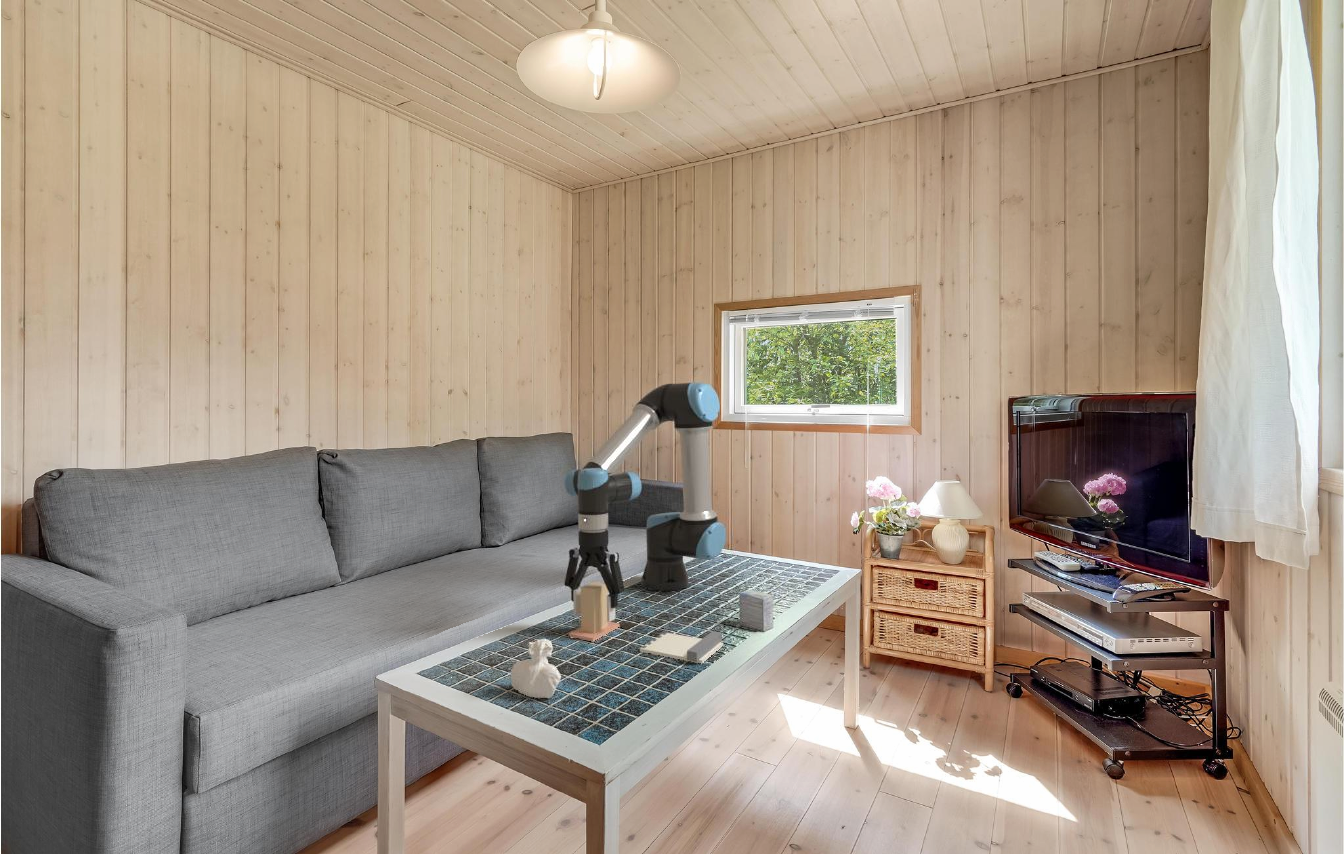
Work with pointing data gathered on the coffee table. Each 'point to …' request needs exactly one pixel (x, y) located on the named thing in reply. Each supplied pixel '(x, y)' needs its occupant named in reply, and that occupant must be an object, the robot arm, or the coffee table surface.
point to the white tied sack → (536, 672)
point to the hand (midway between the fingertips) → (594, 617)
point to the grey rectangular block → (756, 610)
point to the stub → (594, 613)
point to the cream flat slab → (684, 646)
